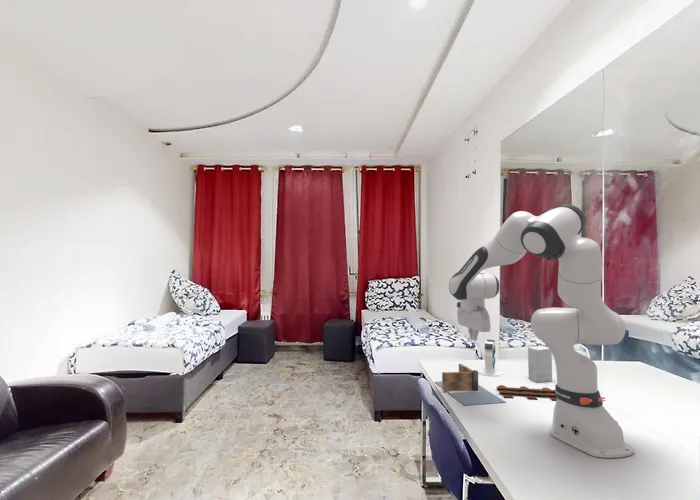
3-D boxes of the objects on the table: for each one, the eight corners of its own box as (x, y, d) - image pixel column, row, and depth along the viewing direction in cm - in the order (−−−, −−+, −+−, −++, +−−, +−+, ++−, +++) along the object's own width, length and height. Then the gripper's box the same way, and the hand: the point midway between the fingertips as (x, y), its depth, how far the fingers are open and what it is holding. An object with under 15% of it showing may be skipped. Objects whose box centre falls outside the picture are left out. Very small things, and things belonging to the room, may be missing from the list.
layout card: (505, 402, 148) (505, 401, 148) (464, 405, 145) (464, 404, 145) (470, 380, 175) (470, 379, 175) (434, 382, 172) (434, 381, 172)
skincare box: (543, 377, 179) (543, 345, 179) (553, 381, 173) (552, 348, 174) (527, 379, 177) (527, 346, 178) (536, 383, 171) (536, 349, 172)
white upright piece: (501, 377, 179) (501, 345, 180) (475, 374, 184) (475, 342, 184) (503, 371, 190) (502, 340, 190) (479, 368, 195) (478, 338, 195)
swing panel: (443, 390, 160) (442, 373, 160) (442, 389, 161) (442, 372, 161) (472, 390, 160) (471, 372, 160) (471, 389, 161) (470, 372, 162)
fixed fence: (479, 391, 160) (479, 371, 160) (473, 391, 159) (473, 372, 160) (462, 380, 174) (462, 362, 174) (457, 380, 174) (457, 362, 174)
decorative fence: (564, 403, 149) (552, 390, 164) (564, 398, 149) (552, 386, 164) (501, 399, 153) (494, 387, 168) (501, 395, 153) (494, 383, 168)
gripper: (494, 307, 147) (495, 344, 146) (468, 302, 167) (468, 335, 166) (479, 308, 145) (479, 345, 145) (454, 302, 166) (454, 335, 165)
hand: (473, 339), depth 156 cm, fingers closed
